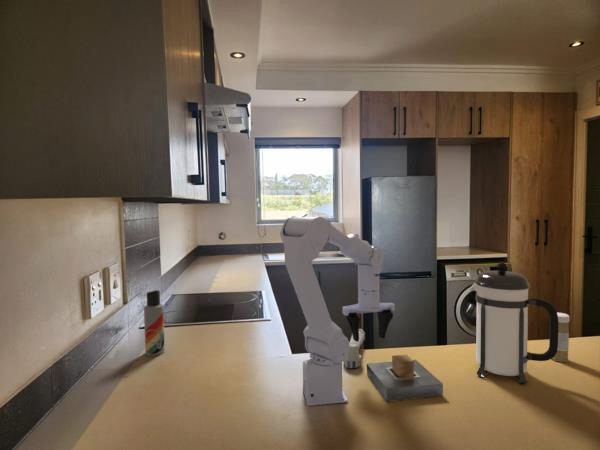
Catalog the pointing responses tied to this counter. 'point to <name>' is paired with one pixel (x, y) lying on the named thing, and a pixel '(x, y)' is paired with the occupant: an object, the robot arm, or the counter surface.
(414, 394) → the grey socket base
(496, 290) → the coffee press
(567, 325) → the sprinkles bottle
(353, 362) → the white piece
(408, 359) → the oak peg
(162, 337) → the lotion bottle
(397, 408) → the counter surface
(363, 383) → the counter surface
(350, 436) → the counter surface
